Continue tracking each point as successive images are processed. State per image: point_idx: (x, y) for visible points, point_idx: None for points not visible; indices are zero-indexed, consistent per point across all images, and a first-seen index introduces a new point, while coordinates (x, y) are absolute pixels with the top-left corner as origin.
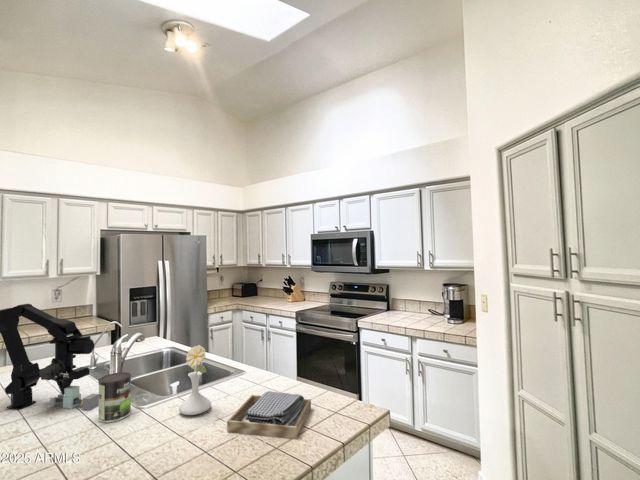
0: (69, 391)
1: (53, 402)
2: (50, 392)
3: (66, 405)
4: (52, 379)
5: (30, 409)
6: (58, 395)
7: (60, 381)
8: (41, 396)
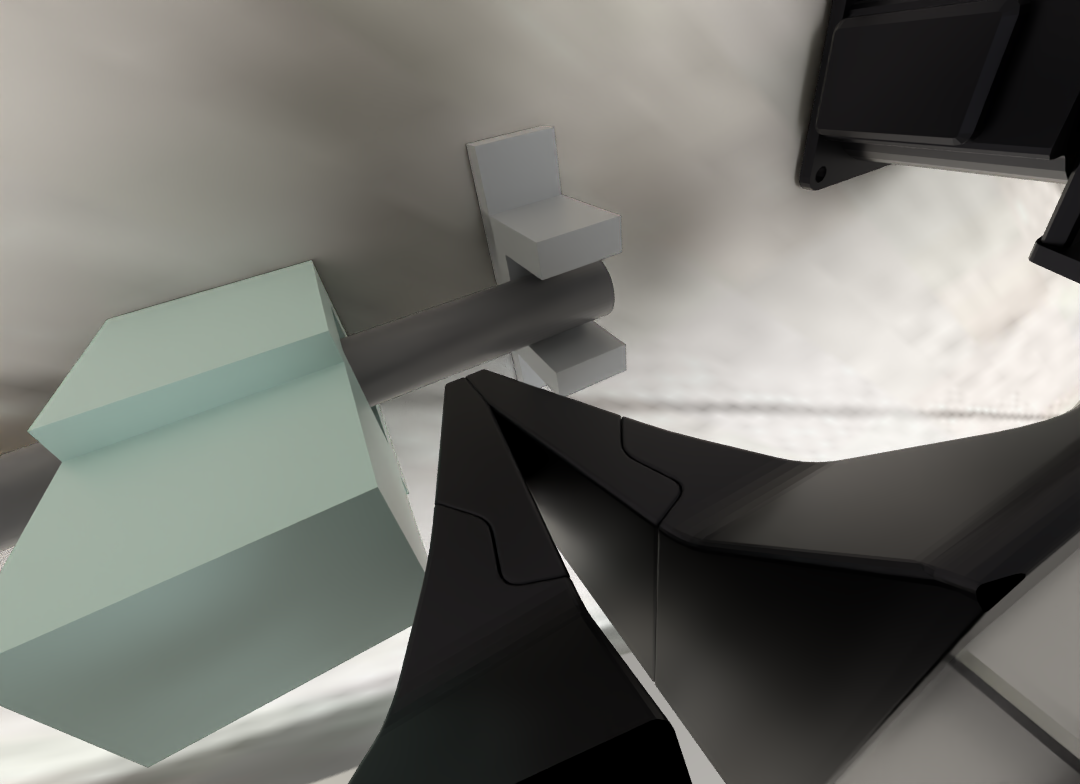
0: (156, 517)
1: (520, 222)
2: (815, 362)
3: (225, 298)
4: (1076, 442)
5: (719, 7)
6: (609, 345)
7: (675, 571)
8: (832, 289)
